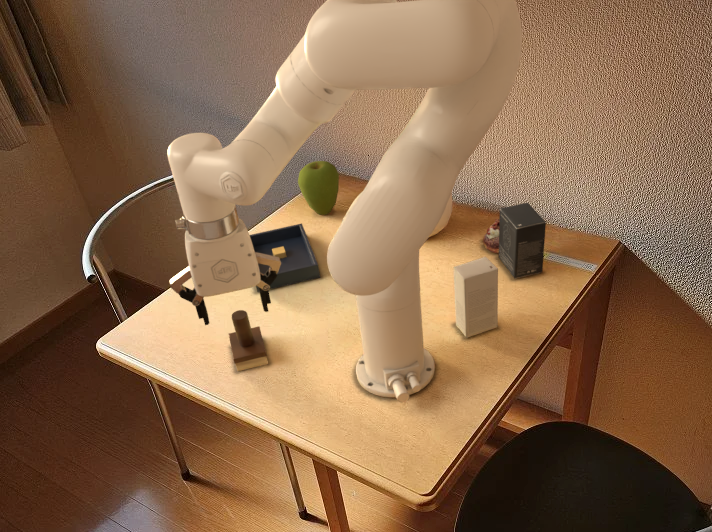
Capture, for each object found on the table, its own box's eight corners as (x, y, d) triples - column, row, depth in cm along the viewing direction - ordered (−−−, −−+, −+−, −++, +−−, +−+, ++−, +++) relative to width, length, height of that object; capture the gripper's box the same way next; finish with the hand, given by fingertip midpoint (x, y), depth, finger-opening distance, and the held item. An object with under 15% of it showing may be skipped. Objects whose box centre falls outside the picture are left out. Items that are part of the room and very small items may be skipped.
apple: (334, 198, 162) (327, 148, 154) (350, 214, 156) (343, 163, 149) (298, 209, 160) (289, 160, 152) (312, 226, 154) (303, 175, 146)
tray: (320, 277, 140) (318, 264, 138) (257, 292, 138) (254, 279, 136) (304, 236, 152) (301, 223, 150) (246, 249, 150) (242, 236, 148)
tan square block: (286, 257, 145) (285, 252, 145) (274, 260, 145) (273, 254, 144) (284, 251, 147) (283, 246, 146) (272, 253, 147) (271, 248, 146)
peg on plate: (269, 364, 123) (258, 323, 117) (237, 372, 122) (225, 331, 116) (262, 338, 128) (252, 298, 122) (232, 346, 127) (220, 306, 121)
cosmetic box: (486, 314, 127) (486, 255, 118) (498, 328, 124) (499, 268, 115) (454, 325, 125) (452, 266, 117) (465, 339, 122) (464, 279, 114)
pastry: (475, 239, 144) (475, 217, 141) (509, 228, 146) (510, 206, 142) (496, 259, 138) (497, 236, 135) (531, 247, 140) (532, 224, 137)
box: (543, 272, 134) (546, 221, 127) (513, 279, 133) (515, 228, 126) (525, 251, 140) (528, 201, 132) (497, 257, 139) (498, 207, 132)
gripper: (154, 245, 104) (184, 339, 115) (274, 221, 106) (292, 315, 118) (152, 220, 109) (181, 311, 121) (266, 197, 111) (284, 289, 123)
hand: (236, 313), depth 119 cm, fingers open, 9 cm apart
